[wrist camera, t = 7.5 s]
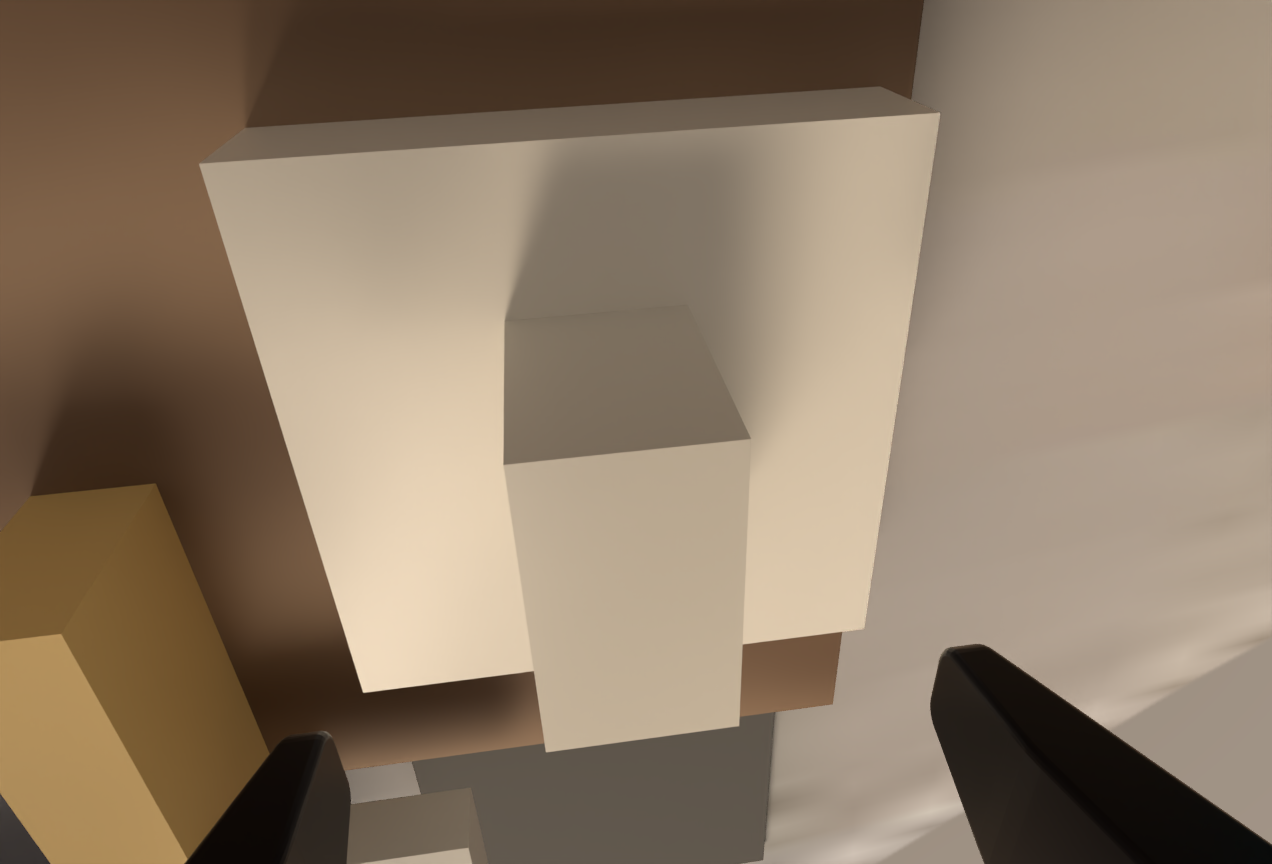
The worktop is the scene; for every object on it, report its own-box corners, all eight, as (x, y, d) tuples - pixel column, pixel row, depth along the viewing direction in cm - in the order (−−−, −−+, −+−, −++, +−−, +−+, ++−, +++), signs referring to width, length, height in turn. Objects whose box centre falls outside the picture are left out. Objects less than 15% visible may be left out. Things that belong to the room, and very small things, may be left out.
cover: (828, 558, 17) (950, 799, 12) (378, 611, 16) (326, 892, 11) (880, 86, 12) (1111, 187, 7) (244, 128, 11) (61, 270, 7)
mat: (759, 848, 27) (762, 860, 27) (453, 894, 26) (453, 907, 26) (775, 629, 22) (779, 640, 22) (393, 677, 21) (391, 690, 21)
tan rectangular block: (498, 807, 20) (497, 963, 17) (214, 847, 19) (160, 1017, 16) (426, 455, 14) (405, 593, 11) (30, 496, 14) (-100, 652, 11)
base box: (794, 613, 22) (832, 703, 19) (119, 697, 20) (63, 809, 18) (864, -189, 13) (951, -217, 10) (-338, -149, 11) (-582, -169, 9)
